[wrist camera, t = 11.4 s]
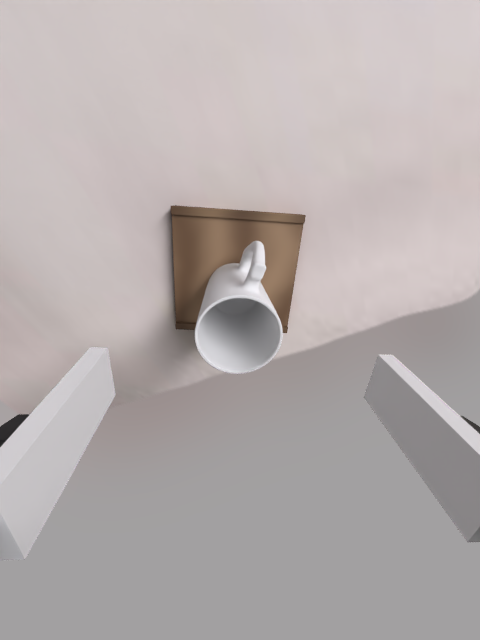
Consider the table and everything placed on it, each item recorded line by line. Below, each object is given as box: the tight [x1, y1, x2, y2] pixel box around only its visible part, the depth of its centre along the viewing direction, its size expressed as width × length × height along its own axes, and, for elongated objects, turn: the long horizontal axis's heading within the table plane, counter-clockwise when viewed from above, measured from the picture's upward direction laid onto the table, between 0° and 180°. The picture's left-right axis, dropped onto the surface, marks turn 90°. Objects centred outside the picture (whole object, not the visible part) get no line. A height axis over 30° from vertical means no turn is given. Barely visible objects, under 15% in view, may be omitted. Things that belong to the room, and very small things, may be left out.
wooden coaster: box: [171, 206, 306, 333], centre depth 30 cm, size 14×14×2 cm
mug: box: [195, 241, 283, 374], centre depth 25 cm, size 10×7×12 cm, turn 162°
